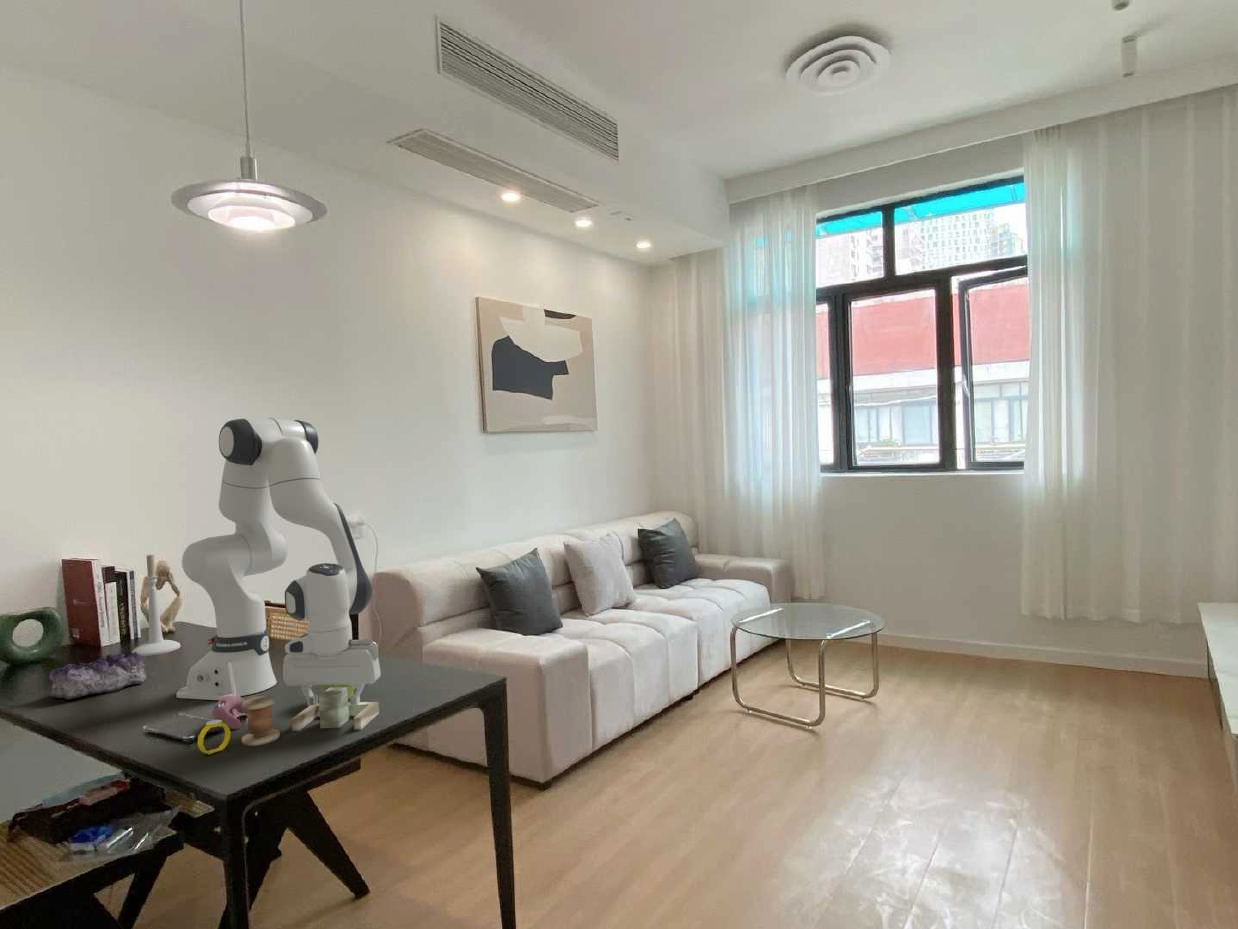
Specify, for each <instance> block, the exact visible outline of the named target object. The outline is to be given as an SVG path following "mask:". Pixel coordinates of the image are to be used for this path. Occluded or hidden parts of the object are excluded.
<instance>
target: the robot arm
mask: <svg viewBox="0 0 1238 929" xmlns="http://www.w3.org/2000/svg"><path fill="white" fill-rule="evenodd" d="M319 441H320V440H319V435H318V432H317V430H316V428H315V426H314V425H312V424H311V423H310V422H306V421H303V420H299V419H295V420H292V419H286V418H285V419H284V418H272V417H269V418H255V419H254V418H252V419H249V418H248V419H246V418H236V419H232V420H228V421H226V422H225V423H224V424H223V426H222V427H221V428H220V431H219V436H218V447H219V448H218V449H219V452H220V455H222V457H223V458H224V459H225V463H224V465H223V470H222V477H221V484H220V491H219V500H218V509H219V511H220V514H221V515H222V516H223V517H224V518H226V519H227V520H229V521H231V522H233V523H235V531H234V533H231V534H225V535H219V536H211V537H210V536H209V537H207V538H204V539H203V538H202V539H201V540H198V541H195V542H192V543H190V544H189V545H188V546H187V547H186V548H185V550H184V551H183V553H182V559H181V566H182V570H183V572H184V574H185V575H186V576H187V578H188V579H190V581H192V582H194V583H196V584H198V585H199V586H201V587H202V588H203V589H204V591H205V592H207V594H208V596H209V598H210V599H211V602H212V604H213V608H214V609H213V610H214V615H215V623H216V635H214V636H212V637H211V638H210V639H208V640H206V642H207V643H206V645H207V646H209V645H211V648H210V651H209V652H207V653H206V654H205V655H204V656H202V658H200V659H199V660H198V661H197V662H196V663H195V664H193V665H192V666H191V667H190V669H188V670H189V671H188V673H187V677H186V685H185V686H184V687H182V688H180V689H179V690H178V691H177V692H176V698H177V699H178V698H179V699H186V700H187V699H190V700H209V701H210V700H211V701H219V700H221V699H222V698H224V697H226V696H231V695H232V696H233V695H234V694H236V696H240V697H243V696H248V695H253V694H255V693H259V692H260V693H261V692H263V691H266V690H267V689H270V688H272V687H274V686H276V684H277V679H276V676H275V673H274V671H273V667H272V662H271V659H270V658H271V657H270V637H269V636H270V635H269V628H267V620H266V618H267V617H266V604H265V600H264V598H263V597H262V596H261V595H260V594H259V593H256V592H255V591H252V590H248V588H247V587H246V584H245V581H244V578H245V577H249V576H255V575H259V574H264V573H268V572H269V571H272V570H274V569H276V568H278V567H280V566H282V565H283V564H284V563H285V562H286V559H287V557H288V553H289V550H288V549H289V547H288V544H287V541H286V539H285V537H284V536H283V535H282V534H281V533H279V532H278V531H277V530H276V529H275V528H274V526H273V524H272V521H271V518H270V510H269V509H270V500H271V503H272V507H273V509H274V511H275V513H276V514H277V515H278V516H279V517H281V518H282V519H284V521H286V522H289V523H291V524H294V525H299V526H302V527H307V528H311V529H313V530H316V531H318V532H321V533H323V535H325V536H326V537H327V538H328V539H329V542H330V544H331V548H332V550H333V553H334V556H335V559H336V561H337V563H330V562H329V563H328V562H325V563H317V564H314V565H312V566H310V567H308V568H307V570H306V573H305V575H304V576H301V577H299V578H297V579H293V581H291V582H290V583H289V585H288V586H287V587H286V589H285V590H284V605H285V611H286V614H287V615H288V616H290V617H291V618H292V619H293V620H296V621H299V622H308V624H307V627H306V628H307V630H306V631H307V633H306V634H302V635H300V636H298V637H296V638H294V639H292V640H290V641H289V642H286V644H285V645H284V651H285V653H286V655H285V656H284V658H283V665H282V666H283V667H282V678H283V679H282V680H283V682H284V683H285V685H286V686H288V687H299V686H300V688H301V690H300V691H301V693H303V695H304V696H305V698H306V701H307V702H306V704H307V707H309V706H311V705H316V704H317V703H319V695H318V694H314V692H313V691H312V689H311V688H312V687H313V686H323V685H351V684H354V690H356V691H355V693H354V694H353V695H352V696H351V697H350V699H349V703H350V704H351V705H358V704H359V703H360V702H361V693H362V692H363V690H364V688H365V685H372V684H375V683H376V681H378V680H379V679H380V677H381V674H382V673H381V666H380V661H379V645H378V644H377V643H376V642H375V641H372V639H353V630H352V620H351V618H350V615H357V614H360V613H362V612H363V611H364V610H365V609H366V608H367V606H368V605H369V604H370V602H371V601H372V598H373V587H372V584H371V581H370V578H369V576H368V574H367V572H366V571H365V569H364V566H363V564H362V561H361V558H360V556H359V553H358V550H357V546H356V544H355V541H354V539H353V536H352V532H351V529H350V526H349V524H348V521H347V519H346V516H345V514H344V512H343V510H342V508H341V506H340V505H339V504H337V503H335V502H333V501H332V500H331V499H330V497H328V495H327V493H326V491H325V489H324V487H323V486H324V485H323V483H322V477H321V473H320V467H319V465H318V460H317V457H316V454H317V452H318V450H319V449H318V448H319V443H320V442H319Z"/></svg>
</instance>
